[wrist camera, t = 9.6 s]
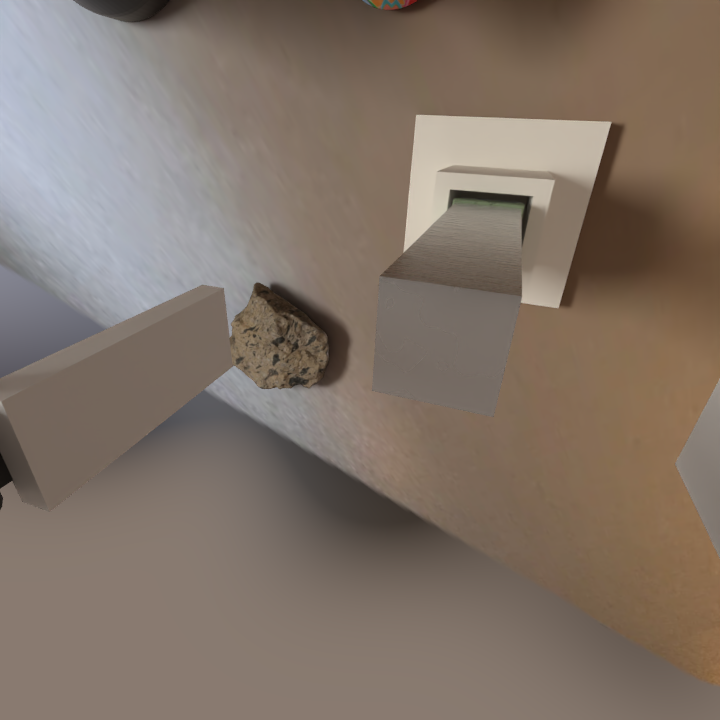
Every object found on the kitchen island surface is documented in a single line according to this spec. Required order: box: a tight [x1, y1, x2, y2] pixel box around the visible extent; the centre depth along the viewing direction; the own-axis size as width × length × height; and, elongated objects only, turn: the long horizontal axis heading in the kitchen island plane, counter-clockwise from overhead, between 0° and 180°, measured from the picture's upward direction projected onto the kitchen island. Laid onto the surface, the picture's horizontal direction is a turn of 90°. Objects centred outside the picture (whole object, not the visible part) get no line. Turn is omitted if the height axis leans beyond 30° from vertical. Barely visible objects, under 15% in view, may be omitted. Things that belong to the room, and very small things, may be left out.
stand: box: [404, 115, 611, 308], centre depth 32 cm, size 14×14×9 cm
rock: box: [230, 283, 329, 389], centre depth 47 cm, size 11×12×4 cm
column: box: [372, 197, 525, 417], centre depth 21 cm, size 4×4×20 cm
